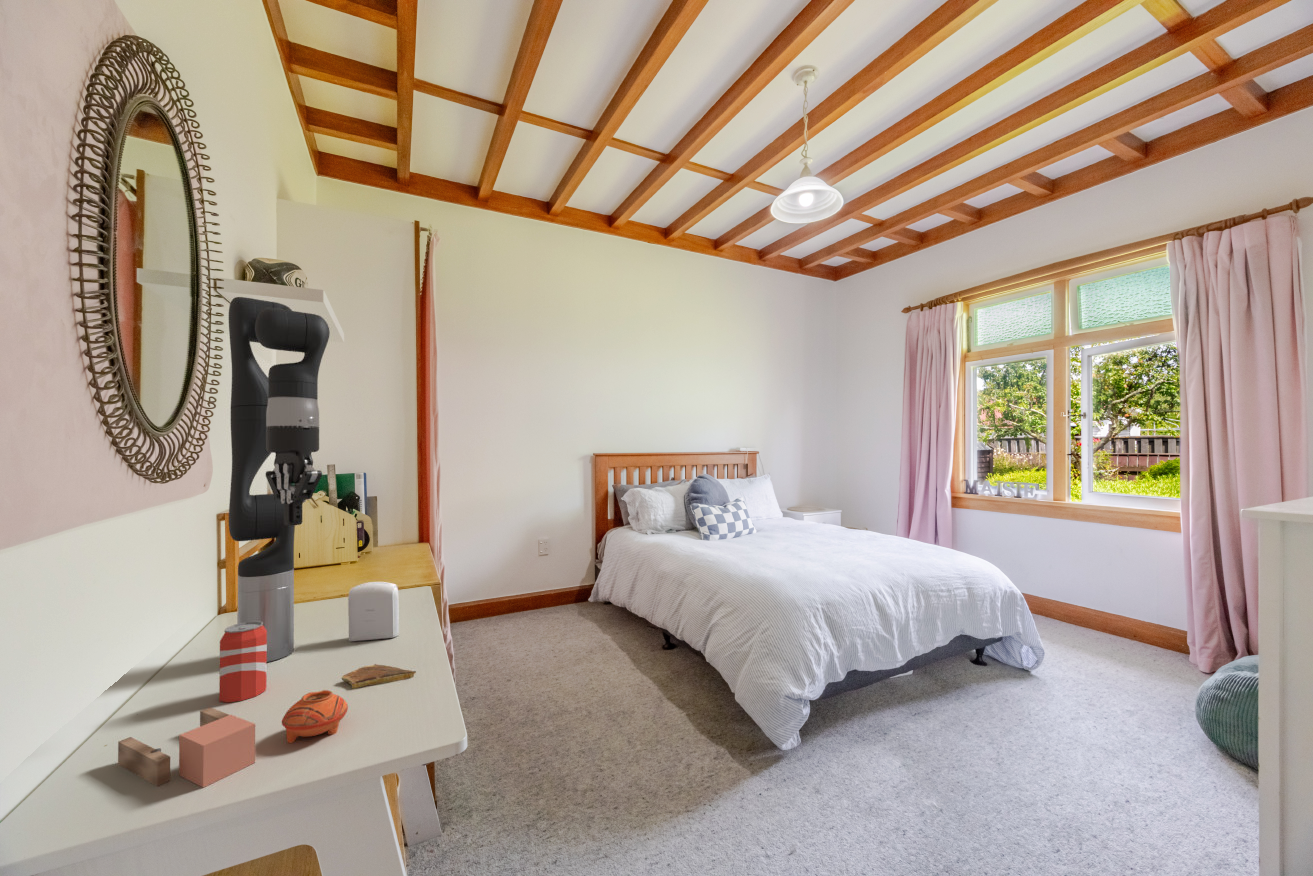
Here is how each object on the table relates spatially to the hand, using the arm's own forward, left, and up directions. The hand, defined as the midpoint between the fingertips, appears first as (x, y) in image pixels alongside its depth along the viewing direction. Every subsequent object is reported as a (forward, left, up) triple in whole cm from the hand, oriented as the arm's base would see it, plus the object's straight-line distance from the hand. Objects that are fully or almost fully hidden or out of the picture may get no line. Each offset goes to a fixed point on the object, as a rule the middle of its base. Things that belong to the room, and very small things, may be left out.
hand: (293, 524), depth 88 cm
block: (+15, -17, -28) cm, 36 cm away
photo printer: (-13, +24, -29) cm, 40 cm away
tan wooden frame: (+8, -17, -29) cm, 35 cm away
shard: (+7, +11, -30) cm, 32 cm away
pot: (+17, -6, -29) cm, 35 cm away
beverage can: (-7, -4, -29) cm, 30 cm away
